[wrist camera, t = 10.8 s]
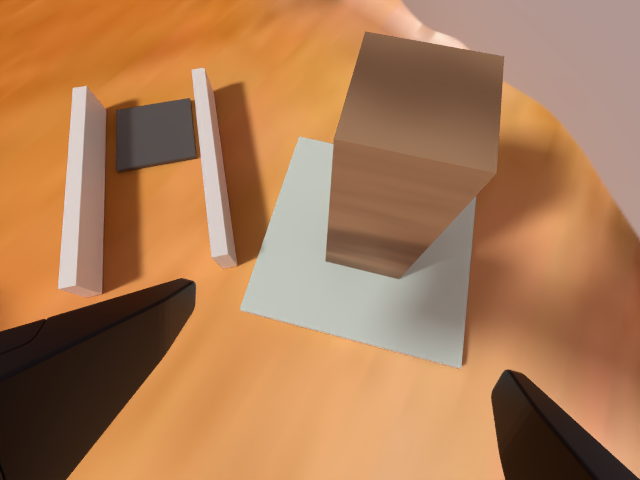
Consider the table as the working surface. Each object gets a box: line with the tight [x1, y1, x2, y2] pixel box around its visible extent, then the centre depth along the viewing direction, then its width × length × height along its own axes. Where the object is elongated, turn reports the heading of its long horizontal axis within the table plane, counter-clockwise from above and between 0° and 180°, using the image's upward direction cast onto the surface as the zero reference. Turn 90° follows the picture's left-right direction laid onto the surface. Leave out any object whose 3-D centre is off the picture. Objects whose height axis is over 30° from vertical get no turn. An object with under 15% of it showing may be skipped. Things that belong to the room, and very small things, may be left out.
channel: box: [58, 68, 237, 298], centre depth 23 cm, size 16×10×2 cm, turn 13°
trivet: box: [240, 137, 476, 369], centre depth 23 cm, size 14×14×1 cm
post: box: [325, 32, 504, 279], centre depth 17 cm, size 5×5×12 cm
